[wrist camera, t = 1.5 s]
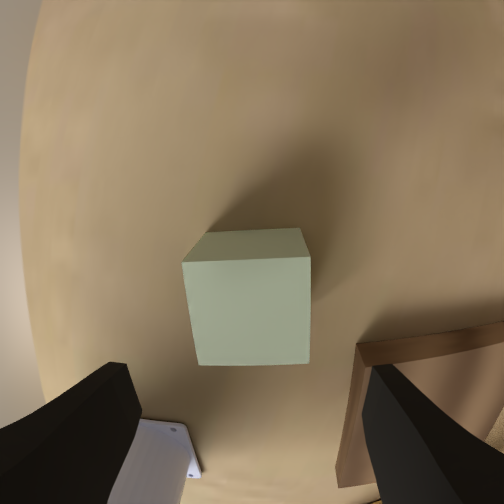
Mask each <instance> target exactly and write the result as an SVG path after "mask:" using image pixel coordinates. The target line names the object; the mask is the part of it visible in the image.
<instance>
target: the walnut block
mask: <svg viewBox="0 0 504 504" xmlns="http://www.w3.org/2000/svg"><path fill="white" fill-rule="evenodd" d="M383 364H393V365H394V366H395V367H396V368H397V369H398V370H399V371H400V372H401V373H403V374H404V375H405V376H406V377H407V378H408V379H409V380H410V381H411V382H412V383H413V384H414V385H415V386H416V387H417V388H418V389H419V390H420V391H421V392H422V393H423V394H425V395H426V396H427V397H428V398H429V399H430V400H431V401H432V402H433V403H434V404H435V405H437V406H438V407H439V408H440V409H441V410H442V411H443V412H445V413H446V414H447V415H448V416H449V417H451V418H452V419H453V420H454V421H456V422H457V423H458V424H459V425H461V426H462V427H463V428H465V429H466V430H467V431H469V432H470V433H471V434H473V435H474V436H476V437H477V438H479V439H480V440H482V441H483V442H484V441H485V439H486V437H487V436H488V434H489V432H490V430H491V429H492V427H493V425H494V423H495V421H496V420H497V418H498V416H499V414H500V412H501V410H502V408H503V406H504V321H501V322H497V323H492V324H487V325H482V326H477V327H472V328H467V329H461V330H455V331H450V332H444V333H437V334H431V335H424V336H417V337H410V338H403V339H395V340H386V341H377V342H368V343H358V344H356V349H355V357H354V365H353V372H352V379H351V386H350V392H349V399H348V405H347V411H346V416H345V422H344V427H343V432H342V438H341V443H340V447H339V452H338V457H337V461H336V466H335V469H336V476H337V483H338V488H344V487H351V486H358V485H364V484H370V483H376V478H375V475H374V471H373V467H372V464H371V460H370V456H369V453H368V449H367V445H366V441H365V435H364V428H363V421H362V410H363V405H364V401H365V397H366V393H367V388H368V384H369V379H370V374H371V369H372V366H374V365H383Z"/></svg>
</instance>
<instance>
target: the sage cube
mask: <svg viewBox="0 0 504 504" xmlns="http://www.w3.org/2000/svg"><path fill="white" fill-rule="evenodd" d="M182 269H183V276H184V283H185V290H186V296H187V302H188V309H189V315H190V321H191V326H192V332H193V338H194V343H195V349H196V354H197V359H198V365H208V366H258V365H289V364H308V363H309V356H310V314H311V256H310V254H309V251H308V248H307V246H306V243H305V240H304V238H303V235H302V232H301V230H300V228H281V229H260V230H240V231H222V232H206V233H205V234H204V235H203V236H202V238H201V239H200V240H199V241H198V243H197V244H196V245H195V246H194V247H193V249H192V250H191V251H190V252H189V254H188V255H187V256H186V257H185V259H184V260H183V261H182Z"/></svg>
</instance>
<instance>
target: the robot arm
mask: <svg viewBox="0 0 504 504" xmlns="http://www.w3.org/2000/svg"><path fill="white" fill-rule="evenodd" d="M141 413H142V408H141V405H140V403H139V400H138V397H137V394H136V391H135V389H134V386H133V383H132V380H131V377H130V374H129V371H128V368H127V364H124V363H116V362H108V363H107V364H105V365H103V366H102V367H100V368H99V369H97V370H96V371H94V372H93V373H91V374H90V375H89V376H87V377H86V378H84V379H83V380H81V381H80V382H79V383H77V384H76V385H74V386H73V387H71V388H70V389H69V390H67V391H66V392H64V393H63V394H61V395H60V396H58V397H57V398H55V399H54V400H52V401H50V402H49V403H47V404H46V405H44V406H42V407H41V408H39V409H38V410H36V411H34V412H33V413H31V414H29V415H27V416H26V417H24V418H22V419H20V420H18V421H16V422H14V423H12V424H10V425H8V426H5V427H3V428H1V429H0V504H180V500H181V497H182V493H183V489H184V485H185V481H186V477H189V478H201V477H202V472H201V469H200V466H199V464H198V461H197V458H196V455H195V452H194V449H193V446H192V443H191V439H190V436H189V433H188V430H187V427H186V426H185V425H184V424H181V423H172V422H163V421H154V420H146V419H140V417H141ZM362 421H363V428H364V435H365V441H366V445H367V449H368V453H369V456H370V460H371V464H372V467H373V471H374V475H375V478H376V482H377V486H378V489H379V493H380V497H381V501H382V504H504V454H503V453H501V452H500V451H498V450H496V449H494V448H493V447H491V446H490V445H488V444H486V443H485V442H483V441H482V440H480V439H479V438H477V437H476V436H474V435H473V434H471V433H470V432H469V431H467V430H466V429H465V428H463V427H462V426H461V425H459V424H458V423H457V422H456V421H454V420H453V419H452V418H451V417H449V416H448V415H447V414H446V413H445V412H443V411H442V410H441V409H440V408H439V407H438V406H437V405H435V404H434V403H433V402H432V401H431V400H430V399H429V398H428V397H427V396H426V395H425V394H423V393H422V392H421V391H420V390H419V389H418V388H417V387H416V386H415V385H414V384H413V383H412V382H411V381H410V380H409V379H408V378H407V377H406V376H405V375H404V374H403V373H401V372H400V371H399V370H398V369H397V368H396V367H395V366H394V365H393V364H383V365H374V366H372V369H371V374H370V379H369V384H368V388H367V393H366V397H365V401H364V405H363V410H362Z"/></svg>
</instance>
